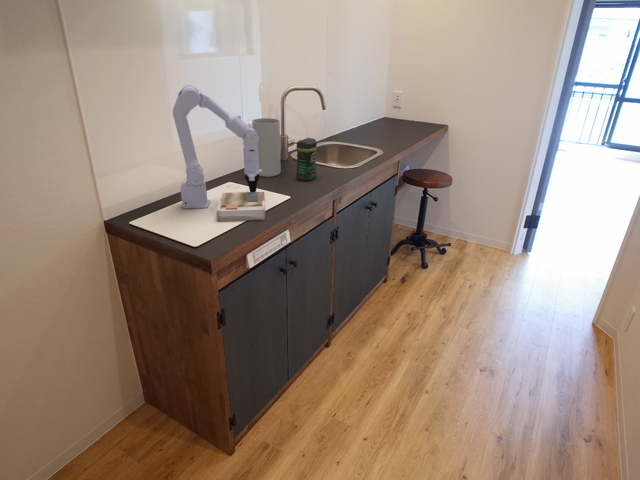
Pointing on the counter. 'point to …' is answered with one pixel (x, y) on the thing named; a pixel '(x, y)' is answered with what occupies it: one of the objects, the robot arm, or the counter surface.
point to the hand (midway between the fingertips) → (253, 192)
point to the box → (241, 213)
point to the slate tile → (252, 196)
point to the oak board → (241, 199)
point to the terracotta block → (232, 207)
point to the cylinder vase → (268, 146)
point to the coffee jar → (306, 159)
